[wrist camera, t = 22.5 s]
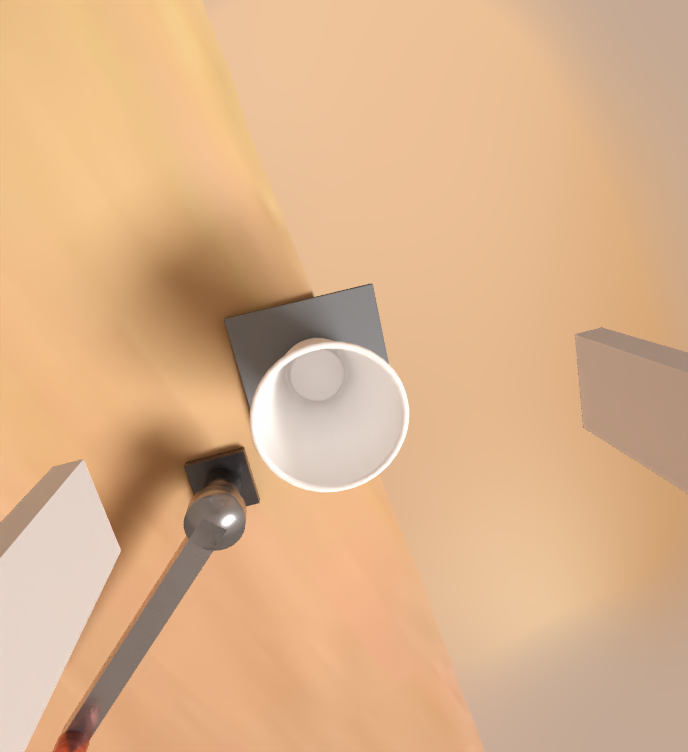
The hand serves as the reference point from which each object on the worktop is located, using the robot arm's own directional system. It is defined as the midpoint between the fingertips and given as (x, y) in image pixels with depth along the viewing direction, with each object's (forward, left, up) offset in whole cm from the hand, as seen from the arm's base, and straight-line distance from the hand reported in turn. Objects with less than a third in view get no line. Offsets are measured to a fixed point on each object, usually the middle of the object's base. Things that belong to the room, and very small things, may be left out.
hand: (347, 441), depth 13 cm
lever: (+21, -18, -24) cm, 36 cm away
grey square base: (+14, -10, -29) cm, 33 cm away
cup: (+6, 0, -28) cm, 29 cm away
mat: (+6, 0, -29) cm, 29 cm away
